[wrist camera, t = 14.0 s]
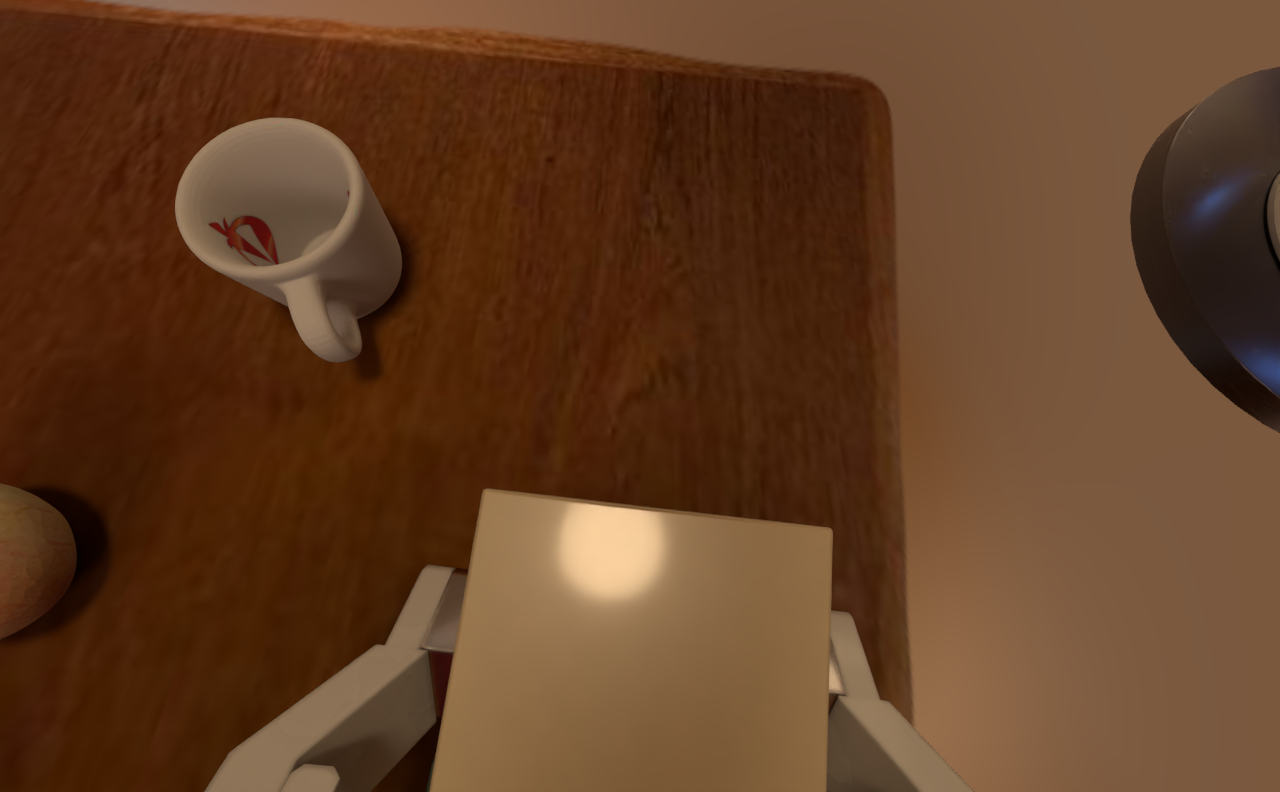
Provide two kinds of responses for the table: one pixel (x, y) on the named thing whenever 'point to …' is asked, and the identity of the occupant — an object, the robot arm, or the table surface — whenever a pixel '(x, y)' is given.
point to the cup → (293, 227)
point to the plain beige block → (637, 652)
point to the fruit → (31, 558)
